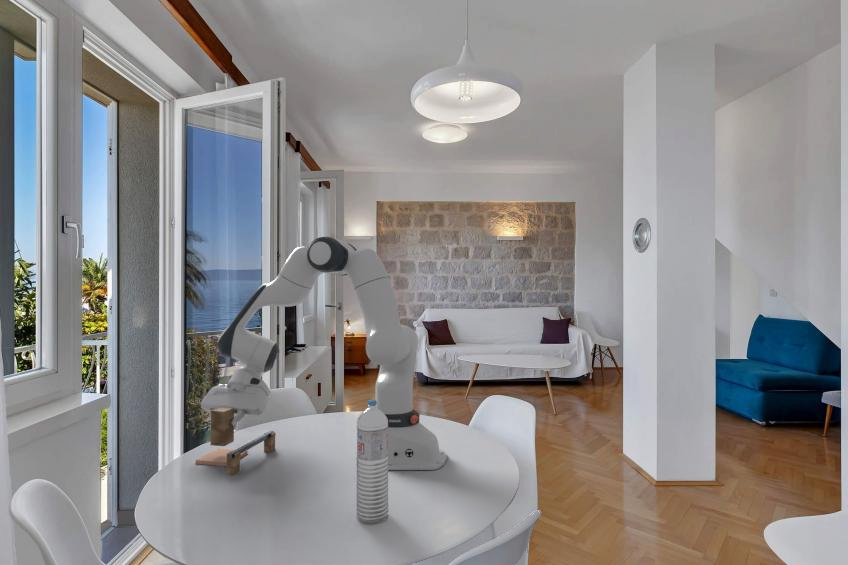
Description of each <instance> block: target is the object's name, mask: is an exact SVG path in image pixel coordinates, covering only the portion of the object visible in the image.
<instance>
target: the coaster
mask: <svg viewBox="0 0 848 565" xmlns="http://www.w3.org/2000/svg"><path fill="white" fill-rule="evenodd" d="M234 450H235V449H233V448H232V449H231V448H217V449H215V450H213V451H210V452H209V453H207V454H205V455H203V456H201V457H199V458H197V459H195V464H198V465H209V466H220V467H221V466H223V467H227V453H229V452H231V451H234ZM246 454H247V455H248V450H246V451H245V452H243V453H241V454H240V459H241V458H243V457H245V456H247V455H246Z"/></svg>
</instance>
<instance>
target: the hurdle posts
mask: <svg viewBox="0 0 848 565" xmlns="http://www.w3.org/2000/svg"><path fill="white" fill-rule="evenodd" d="M268 432H269V431H266V432H265V433H263V435H264V434H266V433H268ZM275 450H276V432H275V431H274V433H272V434H271V437H269V438H268V439H266V440H264V441H263V452H265V453H272V452H274V451H275ZM231 452H232V451H231ZM231 452H229V453H231ZM229 453H227V466H226V475H230V476H235V475H237V474H238V473H240V472H241V458H240V452H238V453H236V454H234V458H232V459H230V458H228V454H229Z"/></svg>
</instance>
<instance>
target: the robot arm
mask: <svg viewBox="0 0 848 565" xmlns="http://www.w3.org/2000/svg"><path fill="white" fill-rule="evenodd" d="M325 273H326V274H329V275H331V276H342V277H343V276H348V278H349V279H350V281H351V283H352V286H353V290H354V293H355V295H356V298H357V301H358V304H359V306H360V309H361V312H362V317H363V321H364V327H365V328H364V329H365V335H366V342H365V353H366V356H367V358H368V359H369V360H370V361H371V362H372V363H374V364H376V365H378V366H379V371H378V374H377V379H376V381H375V394H374V395H375V396H374V398H375V399H374V400H376V401H377V403H376V404H377V405H376V407H377V408H378V409H380V410H381V411H382V412H383V413H384V414H385V416H386V417H387V419H388V427H387V433H388V471H435V470H438V469H440V468H441V467H443V466H444V465H445V464H446V462H447V460H448V458H447V452H446V451H445V450H442V449H440V448H439V447H440V446H439V441H438V438H437V436H436V434H435V433H433V432H432V431H431V430H429V429H428V428H427V427H426V426H424V424H422V423H421V422H420V415H421V414H420V411H419V410H418V411H417V410H416V409H414V408H413V407H414V405H413V403H414V402H413V401H414V400H413V397H414V396H413V395H414V394H413V392H414V391H413V385H414V375H415V374H414V373H415V369H416V362H417V360H416V359H417V351H418V346H419V336H418V334H417V332H416V331H415V330H414V329H413V328H411V327H410V326H408V325H404V324H402V323H401V321H400V316H399V308H398V306H399V301H398V298H397V296H396V293H395V290H394V288H393V285H392V282H391V279H390V277H389V274H388V272H387V269H386V267H385V265H384V263H383V262H382V260H381V258H380V256H379V254H378V253H377V252H376V251H375V250H374V249H371V248H360V249H357V248H356V247H355V246H354V245H352V244H351V243H349V242H345V241H344V240H342V239H338V238H335V237H331V236H319V237H317V238H315V239H313V240H312V241H311V242H310V243H309V244H308V246H299V247H296V248H295V249H294V250H293V251H292V252H291V253H290V255H289V256H288V257H287V259H286V261H285V262H284V264H283V265H282V267H281V269H280V271H279V273H278V275H277V276H276V278H274V279H273V280H272V281H271V282H269V283H262V284H261V285H260V286H259V287H258V288H257V289H256V291H255V292H253V294H252V295H251V297H250V298H249V299H248V300H247V302H246V303H245V304H244V306H243V307H242V309H241V310H240V311H239V313H238V314H237V315H236V317H234V319H233V321H232V322H231V323H230V324H229V325H228V326H227V327H226V328H225V329H224V330H223V331H222V332H221V334H220V335H219V337H218V339H217V343H216V347H217V350H218V352H219V353H220V355H221V356H223V357H227V358H229V359H234V360H237V361H239V363H238V364H239V365H238V367H236V368H235V370H234V371H233V374H232V375H231V377H230V379H229V381H228V382H227V384H221V383H218V384H216V385H214V386H212V387H211V388H210V390H209V391H208V392H207V393H206V394H205V395H204V397H203V399H202V400H201V402H200V407H201V409H203V411H204V412H206V413H211V411H212V410H214V409H217V408H220V407H228V408H234V418H231V419H230V422H229V425H230V426H234V427H236V426H237V424H238V423H239V422H240V421H241V420H242V419H244V417H245V416H246V415H249V416H250V415H253V416H260V415H262V414H263V413H264V411H265V409H266V407H267V404H268V401H269V396H270V394H271V390H270V388H269V386H268V385H267V383H266V382H265V381H264V380H263V379H262V377H263V375H264V374H265V373H267V372H269V371H271V370H272V369H273V368H274V365H275V361H276V360H277V359H278V356H279V354H280V351H281V350H280V349H279V346H278V344H277V342H276V341H274V340H272V339H269V338H268V337H265V336H263V335H261V334H260V335H259V334H257V333H255V332H252V331H250V330H248V329H247V328H246V326H247V325H248V324H249V322H250V320H251V319H252V318H253V317H254V315H255V314H256V313H257V311H258V310H259V309H261V308H263V307H269V306H270V307H290V308H291V307H294V306H298V305H301V304H302V303H303V302H305V300H306V299H307V297H308V296H309V295H310V293H311V290H312V289H313V287H314V285H315V282H316V281H317V279H318V277H320V275H322V274H325Z"/></svg>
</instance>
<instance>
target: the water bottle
mask: <svg viewBox="0 0 848 565" xmlns="http://www.w3.org/2000/svg"><path fill="white" fill-rule="evenodd" d="M376 403H377V401H376V400H375V399H369V400H368V401H367V406H368V407H367V408H365V409H364V410H363V411H362V412H361V413H360V415H359V416H358V417H357V420H356V518H357V520H358V521H359V522H360V523H362V524H364V525H365V524H366V525H376V524H380V523H382V522H384V521H385V520H386V519H387V518H388V515H389V470H388V433H387V427H388V419H387V417H386V416H385V414H384V413H383V412H382V411H381V410H380V409H378V408H377V407H376V405H377V404H376Z"/></svg>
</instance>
